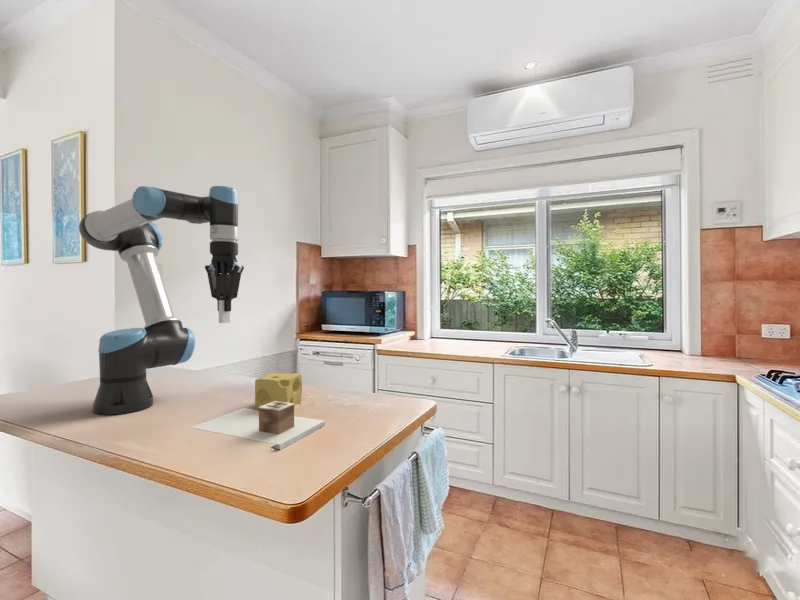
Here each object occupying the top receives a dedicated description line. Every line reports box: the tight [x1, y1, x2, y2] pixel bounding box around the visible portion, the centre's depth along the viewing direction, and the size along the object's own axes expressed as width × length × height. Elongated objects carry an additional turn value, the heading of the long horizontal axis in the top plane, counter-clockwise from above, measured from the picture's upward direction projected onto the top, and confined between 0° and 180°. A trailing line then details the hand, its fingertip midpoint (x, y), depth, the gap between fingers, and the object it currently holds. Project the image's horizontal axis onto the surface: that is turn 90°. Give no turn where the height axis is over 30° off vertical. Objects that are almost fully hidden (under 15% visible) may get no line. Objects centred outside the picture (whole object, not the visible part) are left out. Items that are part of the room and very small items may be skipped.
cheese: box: [254, 372, 303, 410], centre depth 125 cm, size 10×11×10 cm
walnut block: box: [258, 401, 295, 435], centre depth 104 cm, size 6×6×6 cm
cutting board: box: [190, 407, 326, 450], centre depth 107 cm, size 28×18×1 cm, turn 67°
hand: (224, 322), depth 121 cm, fingers closed
